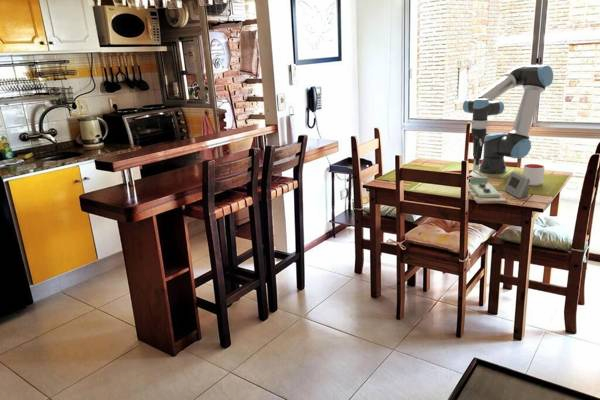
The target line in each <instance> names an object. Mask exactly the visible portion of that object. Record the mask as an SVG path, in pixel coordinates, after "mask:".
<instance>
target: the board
mask: <svg viewBox="0 0 600 400" xmlns="http://www.w3.org/2000/svg"><path fill="white" fill-rule="evenodd" d="M489 184H490V183H489ZM490 185H491V186H492V187H493V188H494V189H495V190H496V191H497V192H498V193H499V194H500V197H478V195H477V194H476V193H475V192H474V191H473V189H472V188H471V187H470V186H469V192H468V194H469V195H470V196H471V198H472V199H473V201H475V203H476V204H507V203H508V200H507V199H506V198H505V197H504V196H503V195H502V194H501V193H500V192H499V190H497V189H496V188H495V187H494V186H493V185H492V184H490ZM484 186H485V184H480V186H479V187H480V188H484ZM489 191H490V189H484V193H488V192H489Z"/></svg>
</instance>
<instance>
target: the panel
mask: <svg viewBox="0 0 600 400" xmlns="http://www.w3.org/2000/svg"><path fill="white" fill-rule="evenodd" d="M488 180H489V177H488V176H477V177H476V176H475V177H474V176H473V177H471V176H470V177H469V182H468V185H469V186H470V187H471V188H472V189H473V191H474V192H475V193H476V194H477V195H478V197H500V194H501V193H500V192H499V191H498V190H497V189H496V188H495V187H494V186H493V185H492V184H491V185H492V186H493V187H494V188H495V189H496V190H497V191H498V192H499V193H500V194H499V193H498V192H497V191H496V190H495V189H494V188H493V187H492V186H491V185H490V183H489V181H488ZM480 184H485V186H484V188H480V187H479V186H480ZM484 189H490V191H489V192H488V193H484Z"/></svg>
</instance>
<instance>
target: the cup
mask: <svg viewBox="0 0 600 400" xmlns="http://www.w3.org/2000/svg"><path fill="white" fill-rule="evenodd" d="M544 172H545V166H544V165H541V164H536V163H526V164H525V165H524V166H523V172H522V175H523V176H525V177H527V178H529V179H530V182H529V184H528V186H531V187H535V186H541V185H542V184H543V182H544Z"/></svg>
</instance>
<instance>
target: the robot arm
mask: <svg viewBox="0 0 600 400" xmlns="http://www.w3.org/2000/svg"><path fill="white" fill-rule="evenodd" d="M553 81H554V71H553V69H552V67H551V66H550V65H548V64H547V65H546V64H522V65H520V66H519V65H518V66H517V67H514V68H512V69H511V70H509V71H507V72H506V73H504V74H503V75H502V76H501V79H499V80H497V81H496V82H494V83H493V84H492V85H491V86H489V87H488V88H486V89H485V90H483V91H482V92H481V93H480V94H478V95H477V96H475V97H473V98H472V99H466V100H464V101H463V103H462V111H464V113H468V114H472V121H471V122H470V124H471V127H472V128H471V136H473V137H474V138H472V144H473V145H472V150H473V151H472V156H473V167H472V169H473V170H472V171H477V172H478V171H480V172H482V173H486V174H503V173H505V172H506V171H507V166H506V162H505V159H504V157H507V158H512V159H517V160H518V159H520V160H521V159H524V158H525V157H527V156H528V154H529V153H530V151H531V148H532V142H531V139H530V136H529V131H530V128H531V125H532V121H533V119H534V116H535V112H536V109H537V106H538V103H539V99H540V97H541V93H543V92H545V90H546V87H549V86H551V84H552V83H553ZM519 86H522V88H523V90H524V91H523V95H522V97H521V101H520V104H519V108H518V110H517V114H516V117H515V120H514V123H513V126H512V129H511V130H510V131H508V133H507V134H506V133H505V132H496V133H495V132H494V133H493V132H492V133H488V134H487V127H488V117H489V116H498V115H500V114H502V113H503V112H504V110H505V104H504V102H503V101H501V100H497V99H498V98H499V97H500V96H501V95H503V94H504V93H506V92H507V91H508V90H511V89H515V87H519ZM483 137H484V139H483ZM482 154H483V155H482ZM482 156H483V158H482ZM481 159H482V160H481ZM480 161H481V163H480Z"/></svg>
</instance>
